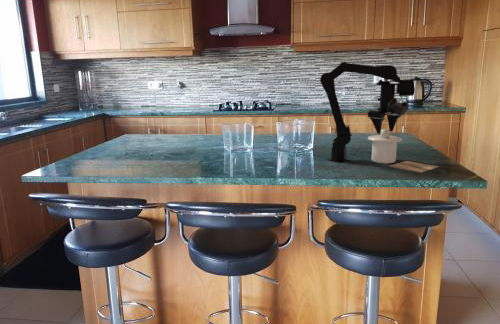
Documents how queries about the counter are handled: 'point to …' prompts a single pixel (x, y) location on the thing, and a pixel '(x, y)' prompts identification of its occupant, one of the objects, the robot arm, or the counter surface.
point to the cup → (384, 152)
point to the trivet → (413, 166)
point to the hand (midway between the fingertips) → (385, 132)
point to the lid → (385, 137)
